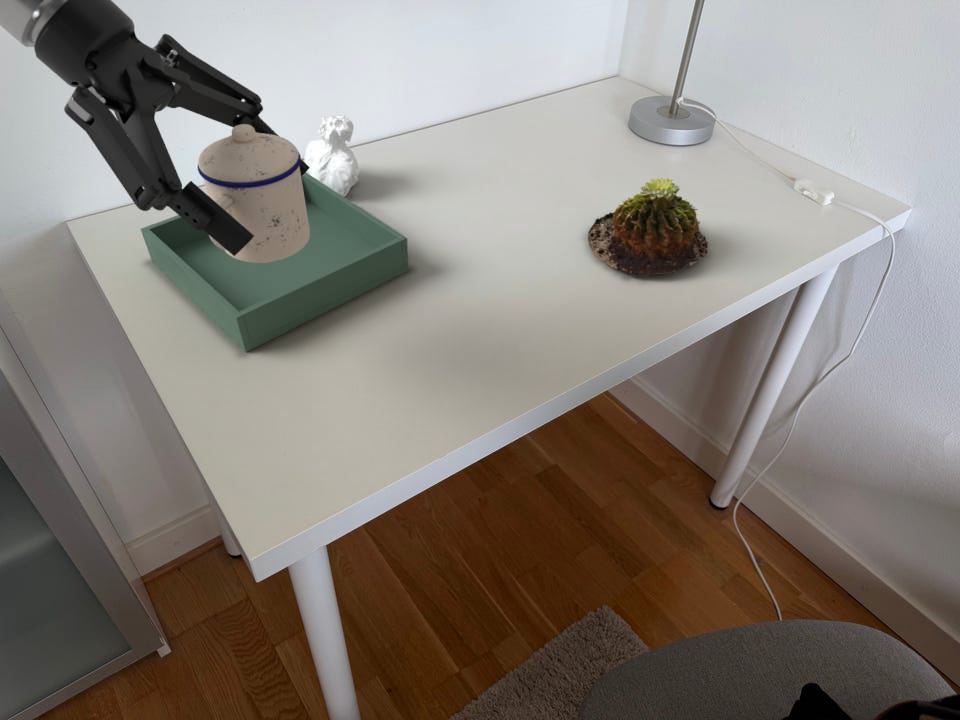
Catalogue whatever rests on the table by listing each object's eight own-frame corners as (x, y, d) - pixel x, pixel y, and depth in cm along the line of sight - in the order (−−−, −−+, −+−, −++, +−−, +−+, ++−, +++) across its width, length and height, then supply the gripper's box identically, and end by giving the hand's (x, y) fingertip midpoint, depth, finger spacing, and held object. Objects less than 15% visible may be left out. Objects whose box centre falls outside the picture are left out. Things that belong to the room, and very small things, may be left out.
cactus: (635, 202, 104) (647, 140, 97) (729, 245, 96) (750, 181, 89) (561, 245, 94) (570, 180, 88) (658, 297, 86) (676, 230, 80)
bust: (361, 212, 104) (394, 143, 101) (322, 197, 97) (357, 123, 95) (318, 182, 110) (348, 116, 107) (279, 166, 104) (311, 96, 101)
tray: (245, 352, 77) (236, 318, 74) (152, 261, 89) (140, 228, 86) (408, 270, 89) (407, 237, 86) (306, 200, 101) (301, 169, 98)
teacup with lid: (250, 209, 73) (225, 100, 65) (328, 225, 71) (313, 115, 63) (182, 272, 64) (144, 156, 56) (269, 292, 62) (243, 175, 54)
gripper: (128, 7, 66) (301, 171, 75) (-64, 107, 49) (190, 306, 57) (163, -51, 62) (342, 129, 71) (-34, 36, 45) (236, 262, 53)
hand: (274, 209), depth 64 cm, fingers closed on teacup with lid, 12 cm apart
